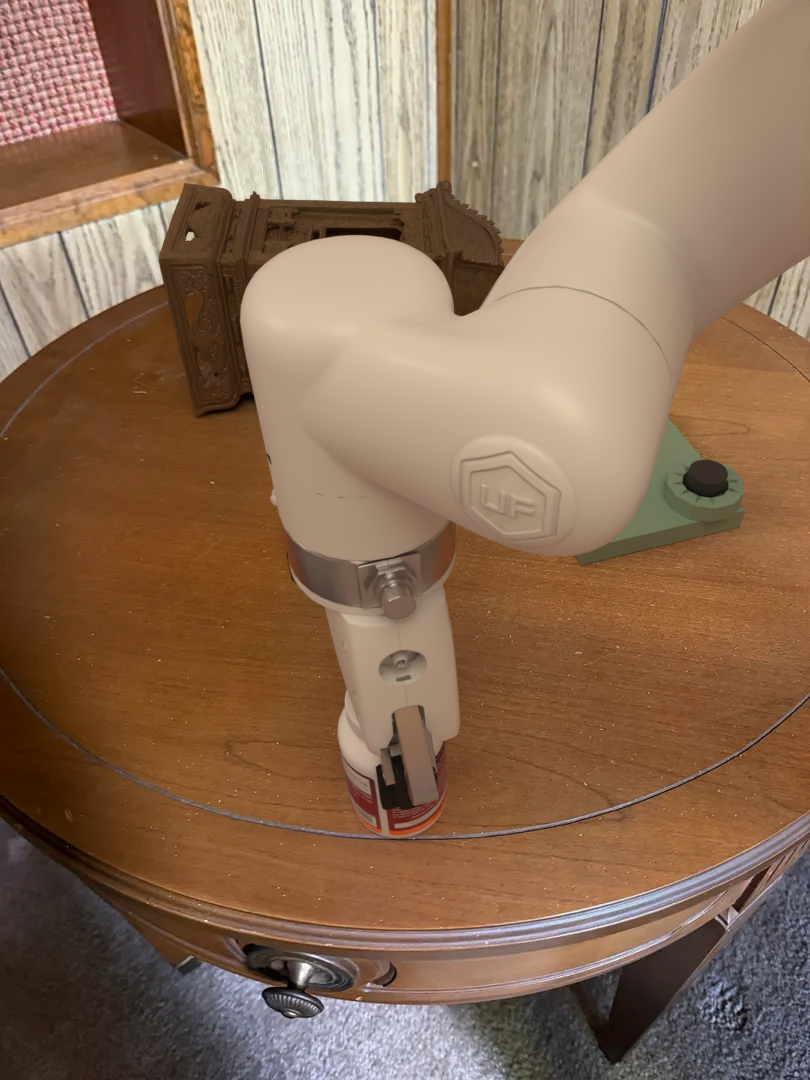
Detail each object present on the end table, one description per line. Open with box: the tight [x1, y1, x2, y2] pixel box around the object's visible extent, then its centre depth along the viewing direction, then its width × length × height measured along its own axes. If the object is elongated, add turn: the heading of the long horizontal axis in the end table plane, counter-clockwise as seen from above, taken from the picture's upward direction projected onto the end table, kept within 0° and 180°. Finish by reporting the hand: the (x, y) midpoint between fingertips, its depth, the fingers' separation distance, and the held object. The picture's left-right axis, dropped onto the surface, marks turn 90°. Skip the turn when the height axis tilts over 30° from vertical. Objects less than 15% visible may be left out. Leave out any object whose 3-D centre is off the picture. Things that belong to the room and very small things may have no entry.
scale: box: [575, 417, 746, 566], centre depth 73 cm, size 16×14×4 cm
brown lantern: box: [158, 179, 506, 417], centre depth 83 cm, size 35×18×18 cm, turn 92°
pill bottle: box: [337, 689, 448, 839], centre depth 50 cm, size 6×6×11 cm
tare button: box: [686, 458, 728, 498], centre depth 68 cm, size 3×3×2 cm
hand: (393, 745), depth 50 cm, fingers closed on pill bottle, 6 cm apart
